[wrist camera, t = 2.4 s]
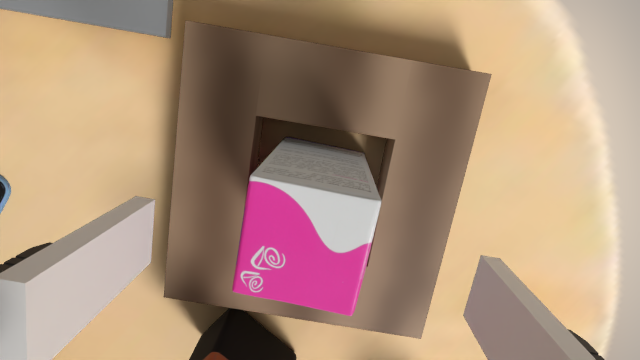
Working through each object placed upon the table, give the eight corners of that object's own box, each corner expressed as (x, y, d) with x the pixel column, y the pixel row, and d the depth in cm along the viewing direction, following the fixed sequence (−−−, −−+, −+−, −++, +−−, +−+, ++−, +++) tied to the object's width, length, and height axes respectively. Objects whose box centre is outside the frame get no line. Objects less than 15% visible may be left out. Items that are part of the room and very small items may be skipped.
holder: (180, 276, 29) (163, 297, 27) (202, 27, 25) (185, 20, 22) (411, 314, 30) (421, 338, 27) (472, 75, 25) (491, 74, 23)
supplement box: (282, 134, 27) (248, 170, 16) (365, 151, 27) (392, 198, 16) (268, 212, 28) (228, 296, 17) (347, 228, 28) (360, 321, 17)
